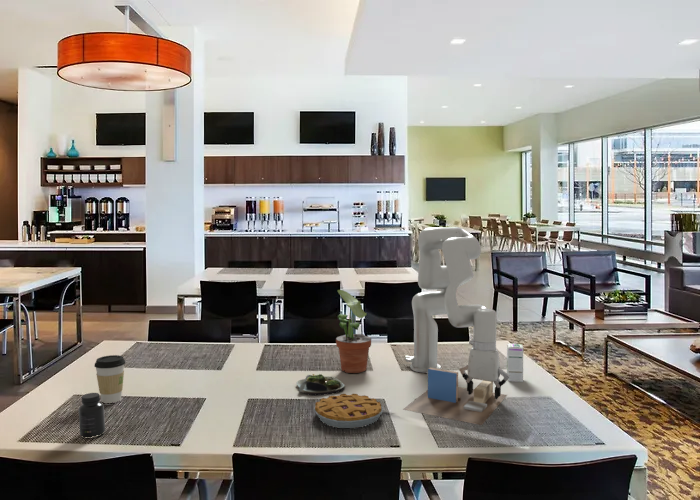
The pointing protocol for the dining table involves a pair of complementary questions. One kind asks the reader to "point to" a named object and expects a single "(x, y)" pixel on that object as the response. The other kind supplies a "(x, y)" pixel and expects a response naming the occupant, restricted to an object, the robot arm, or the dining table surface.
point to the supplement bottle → (91, 415)
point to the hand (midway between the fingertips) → (483, 395)
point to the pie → (348, 410)
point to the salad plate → (320, 385)
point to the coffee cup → (110, 377)
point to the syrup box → (515, 362)
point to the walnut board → (455, 407)
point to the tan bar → (480, 396)
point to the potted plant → (352, 338)
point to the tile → (443, 385)
